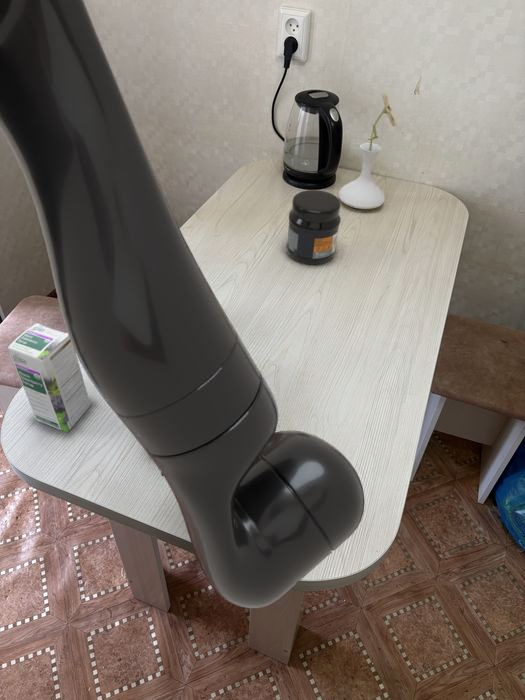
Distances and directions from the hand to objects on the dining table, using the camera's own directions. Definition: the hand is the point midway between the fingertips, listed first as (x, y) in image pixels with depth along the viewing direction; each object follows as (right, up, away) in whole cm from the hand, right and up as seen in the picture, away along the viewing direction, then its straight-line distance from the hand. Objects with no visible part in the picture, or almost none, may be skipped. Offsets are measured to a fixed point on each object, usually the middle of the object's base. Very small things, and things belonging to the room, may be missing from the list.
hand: (206, 440), depth 63 cm
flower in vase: (+32, +48, +63) cm, 86 cm away
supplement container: (+17, +32, +45) cm, 58 cm away
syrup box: (-22, +2, +11) cm, 25 cm away
